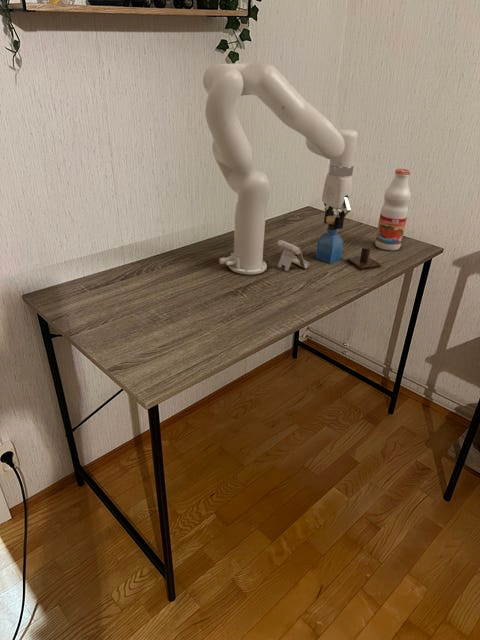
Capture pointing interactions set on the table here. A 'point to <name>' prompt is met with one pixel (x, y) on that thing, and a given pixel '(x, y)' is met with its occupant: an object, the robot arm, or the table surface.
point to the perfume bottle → (329, 246)
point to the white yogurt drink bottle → (394, 212)
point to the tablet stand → (291, 256)
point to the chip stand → (363, 260)
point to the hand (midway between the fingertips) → (333, 225)
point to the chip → (330, 219)
